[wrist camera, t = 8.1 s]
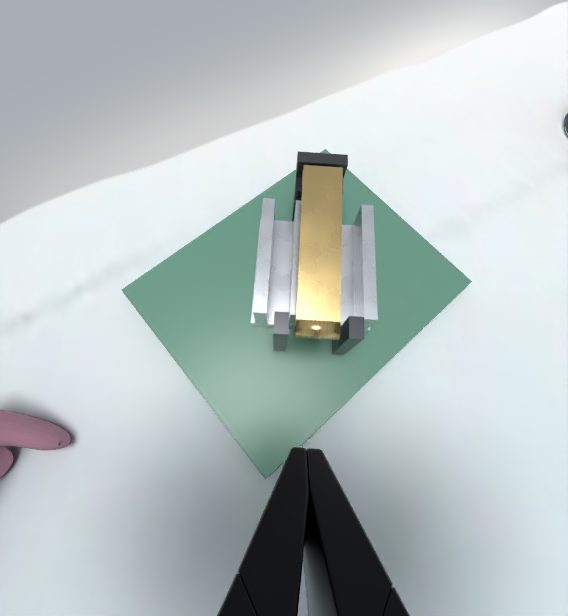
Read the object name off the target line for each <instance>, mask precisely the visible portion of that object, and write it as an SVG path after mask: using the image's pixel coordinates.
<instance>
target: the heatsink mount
mask: <svg viewBox="0 0 568 616" xmlns="http://www.w3.org/2000/svg"><path fill="white" fill-rule="evenodd" d="M304 165H312V166H326V167H341V168H343V179H344V176H345V172H346V169H347V166H348V155H340V154H325V153H310V152H298V156H297V166H296V178H295V189H294V200H293V213H292V221H279V220H275V199H271V198H263V205H262V217H261V219H260V227H259V238H258V249H257V260H256V271H255V282H254V293H253V304H252V315H251V326H252V327H264V328H273V351H282V352H285V349H286V344H287V339H288V333H289V329H295V317H296V296H297V276H298V256H299V236H300V216H301V196H302V176H303V167H304ZM342 196H343V188H342ZM377 320H378V311H377V286H376V260H375V235H374V210H373V205H361V207H360V209H359V211H358V214H357V216H356V218H355V221H354V223H353V225H342V252H341V316H340V322H341V334H340V338H339V340H332V355H344V354H346V353H347V352H348V351H350V350H351V349H352V348H353V347H355V346H356V345H357V344H359V343H360V342H361V341H362V340H364V339H365V335H364V334H367V333H368V332H369V331H370V326H371V325H372V324H374V323H375V322H376V321H377Z"/></svg>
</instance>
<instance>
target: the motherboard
mask: <svg viewBox="0 0 568 616" xmlns="http://www.w3.org/2000/svg"><path fill="white" fill-rule="evenodd" d="M321 153H325V154H330V153H329V152H328V151H327V150H326V149H325V150H324V151H322V152H321ZM295 178H296V170H295V171H293V172H292V173H290V174H289V175H287V176H286V177H284V178H283V179H281V180H280V181H279V182H277V183H276V184H274V185H273V186H271V187H270V188H268V189H267V190H266V191H264V192H263V193H261V194H260V195H258V196H257V197H255V198H254V199H253V200H251V201H250V202H248V203H247V204H245V205H244V206H242V207H241V208H239V209H238V210H237V211H235V212H234V213H232V214H231V215H229V216H228V217H226V218H225V219H224V220H222V221H221V222H219V223H218V224H216V225H215V226H213V227H212V228H210V229H209V230H208V231H206V232H205V233H203V234H202V235H200V236H199V237H197V238H196V239H195V240H193V241H192V242H190V243H189V244H187V245H186V246H184V247H183V248H181V249H180V250H179V251H177V252H176V253H174V254H173V255H171V256H170V257H168V258H167V259H166V260H164V261H163V262H161V263H160V264H158V265H157V266H155V267H154V268H152V269H151V270H150V271H148V272H147V273H145V274H144V275H142V276H141V277H139V278H138V279H137V280H135V281H134V282H132V283H131V284H129V285H128V286H126V287H125V288H123V289H122V291H123V293H124V294H125V295H126V297H127V298H128V299H129V301H130V302H131V303H132V304H133V306H134V307H135V308H136V310H137V311H138V312H139V314H140V315H141V316H142V318H143V319H144V320H145V322H146V323H147V324H148V326H149V327H150V328H151V329H152V331H153V332H154V333H155V335H156V336H157V337H158V339H159V340H160V341H161V343H162V344H163V345H164V347H165V348H166V349H167V350H168V352H169V353H170V354H171V356H172V357H173V358H174V360H175V361H176V362H177V364H178V365H179V366H180V368H181V369H182V370H183V372H184V373H185V374H186V375H187V377H188V378H189V379H190V381H191V382H192V383H193V385H194V386H195V387H196V389H197V390H198V391H199V393H200V394H201V395H202V396H203V398H204V399H205V400H206V402H207V403H208V404H209V406H210V407H211V408H212V410H213V411H214V412H215V414H216V415H217V416H218V418H219V419H220V420H221V421H222V423H223V424H224V425H225V427H226V428H227V429H228V431H229V432H230V433H231V435H232V436H233V437H234V439H235V440H236V441H237V442H238V444H239V445H240V446H241V448H242V449H243V450H244V452H245V453H246V454H247V456H248V457H249V458H250V460H251V461H252V462H253V464H254V465H255V466H256V467H257V469H258V470H259V471H260V473H261V474H262V475H263V477H264V478H265V479H266V478H267V477H268V476H270V475H271V474H272V473H273V472H274V471H275V470H276V469H277V468H278V467H279V466H280V465H281V464H282V463H283V462H284V461H285V460H286V459H287V457H288V455H289V452H290V450H291V448H293V447H300V446H301V445H302V444H303V443H304V442H305V441H306V440H307V439H308V438H309V437H310V436H311V435H312V434H313V433H314V432H315V431H316V430H317V429H319V428H320V427H321V426H322V425H323V424H324V423H325V422H326V421H327V420H328V419H329V418H330V417H331V416H332V415H333V414H334V413H335V412H336V411H337V410H338V409H339V408H340V407H341V406H343V405H344V404H345V403H346V402H347V401H348V400H349V399H350V398H351V397H352V396H353V395H354V394H355V393H356V392H357V391H358V390H359V389H360V388H361V387H362V386H363V385H364V384H365V383H366V382H368V381H369V380H370V379H371V378H372V377H373V376H374V375H375V374H376V373H377V372H378V371H379V370H380V369H381V368H382V367H383V366H384V365H385V364H386V363H387V362H388V361H389V360H390V359H392V358H393V357H394V356H395V355H396V354H397V353H398V352H399V351H400V350H401V349H402V348H403V347H404V346H405V345H406V344H407V343H408V342H409V341H410V340H411V339H412V338H413V337H414V336H415V335H417V334H418V333H419V332H420V331H421V330H422V329H423V328H424V327H425V326H426V325H427V324H428V323H429V322H430V321H431V320H432V319H433V318H434V317H435V316H436V315H437V314H438V313H439V312H441V311H442V310H443V309H444V308H445V307H446V306H447V305H448V304H449V303H450V302H451V301H452V300H453V299H454V298H455V297H456V296H457V295H458V294H459V293H460V292H461V291H462V290H463V289H465V288H466V287H467V286H468V285H469V284H470V283H471V282H472V281H471V280H469V279H468V278H467V277H466V276H465V275H464V274H463V273H462V272H461V271H460V270H458V269H457V268H456V267H455V266H454V265H453V264H452V263H451V262H450V261H448V260H447V259H446V258H445V257H444V256H443V255H442V254H441V253H440V252H439V251H437V250H436V249H435V248H434V247H433V246H432V245H431V244H430V243H429V242H427V241H426V240H425V239H424V238H423V237H422V236H421V235H420V234H419V233H418V232H416V231H415V230H414V229H413V228H412V227H411V226H410V225H409V224H408V223H406V222H405V221H404V220H403V219H402V218H401V217H400V216H399V215H398V214H397V213H395V212H394V211H393V210H392V209H391V208H390V207H389V206H388V205H387V204H385V203H384V202H383V201H382V200H381V199H380V198H379V197H378V196H377V195H376V194H374V193H373V192H372V191H371V190H370V189H369V188H368V187H367V186H366V185H364V184H363V183H362V182H361V181H360V180H359V179H358V178H357V177H356V176H355V175H353V174H352V173H351V172H350V171H349V170H348V169H346V172H345V176H344V179H343V196H342V225H353V223H354V221H355V218H356V216H357V214H358V211H359V209H360V207H361V205H373V210H374V235H375V260H376V286H377V311H378V320H377V321H376V322H375V323H374V324H372V325H371V326H370V331H369V332H368V333H367V334H364V335H365V339H364V340H362V341H361V342H360V343H359V344H357V345H356V346H355V347H353V348H352V349H351V350H350V351H348V352H347V353H346V354H344V355H332V340H331V339H315V338H298V337H295V329H289V333H288V339H287V344H286V349H285V352H282V351H273V328H264V327H252V326H251V315H252V304H253V293H254V282H255V271H256V260H257V249H258V238H259V227H260V219H261V217H262V205H263V198H271V199H275V220H279V221H292V213H293V200H294V189H295Z"/></svg>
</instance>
